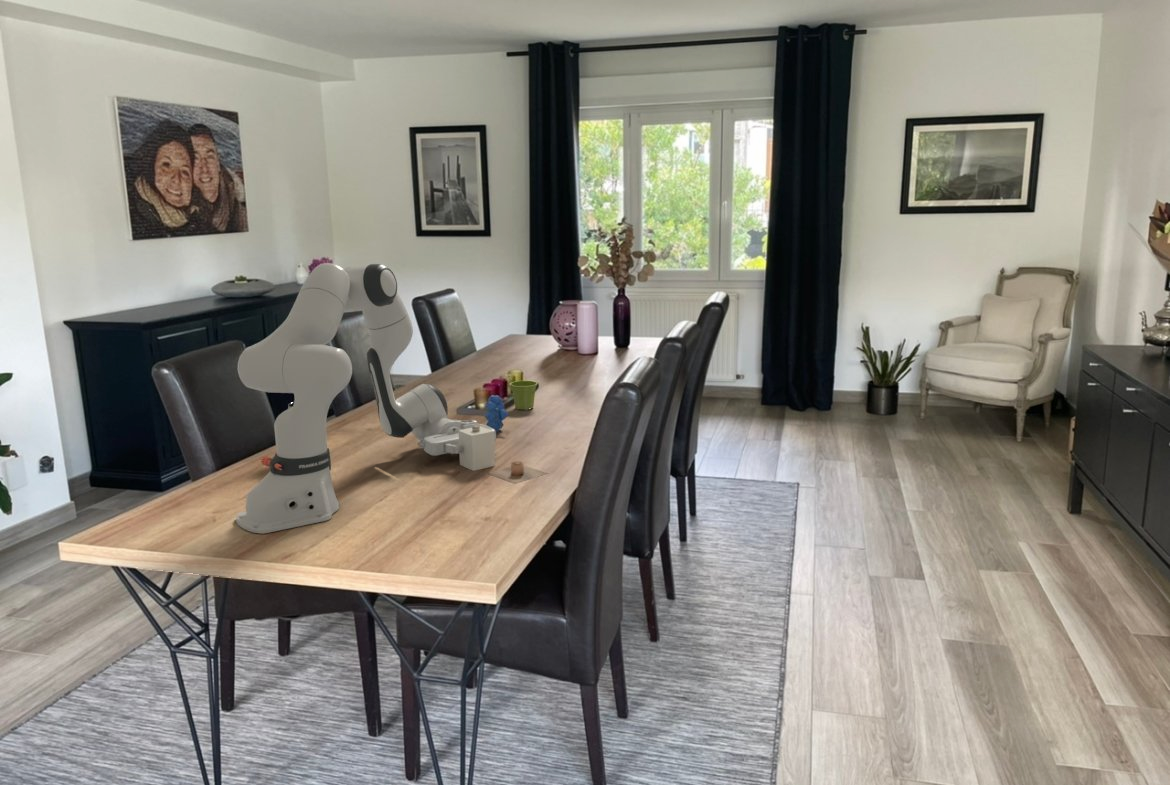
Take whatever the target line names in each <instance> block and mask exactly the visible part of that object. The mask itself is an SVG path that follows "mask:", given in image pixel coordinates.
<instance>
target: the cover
mask: <svg viewBox="0 0 1170 785" xmlns="http://www.w3.org/2000/svg"><path fill="white" fill-rule="evenodd" d="M458 433H459V446H461V447H462V453H458V454H459V465H460V466H462V467H464V468H466V469H468V470H470V471H473V472H474V471H477V470H483V469H487V468H491V467H495V466H496V457H495V456H496V455H495V454H496V452H495V450H496V449H495V443H494V431H492V430H490V429H487V428H484V427H482V426H478V425H474V426H472V428H468V429H463V430H458Z"/></svg>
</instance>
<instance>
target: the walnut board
mask: <svg viewBox="0 0 1170 785" xmlns="http://www.w3.org/2000/svg"><path fill="white" fill-rule="evenodd" d="M547 474H549V473H548V472H545V471H543V470H542V471H541V470H539V469H537V468H536V469H535V468H533V467H530V466H527V465H525V464H524V474H523V475H518V476H516V475H512V474H511V466H509V467H505V468H502V469H498V470H495V471H491V472H488V473H487V475H489V476H492V477H496V478H498V479H500V480H503V481H506V482H508V483H511V484H518V483H523V482H524V481H529V480H532V479H535V478H537V477H541V476H544V475H547Z"/></svg>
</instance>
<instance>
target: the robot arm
mask: <svg viewBox="0 0 1170 785" xmlns="http://www.w3.org/2000/svg"><path fill="white" fill-rule="evenodd" d="M353 312H362V314H363V318H364V320H365V323H366V326H367V329H368V331H369V336H370V345H369V349H368V351H367V352H366V362H367V366H368V371H369V372H368V373H369V376H370V380H371V384H372V389H373V392H374V396H375V397H374V398H375V401H376V406H377V411H378V412H377V413H378V420H379V423H380V426H381V428H382V429H383V431H384V432H385V433H386V435H387V436H389V437H393V438H401V439H404V438H406V436H407V435H408V434H410V433H412V434H413V436H414V437H415V438H417V439H418V440H419V441H418V442H417V446H419V447H420V448H423V450H424V452H425V453H427V454H428V455H430V456H433V457H434V456H440V455H444V454H445V455H446V454H451V453H452V454H456V455H457V454H459V453H462V447H461V446H459V433H458V430H463V429H468V428H472V426H474V425H478V426H482V427H484V428H487V429H490V430H492V431H494V444H495V443H496V440H497V432H495V430H494V429H493V428H491V427H488V426H487V425H485V424H482V423H478V421H477V420H475V419H471V420H470V419H466V420H463V419H462V420H459V419H450V418H447V417H448V412H449V410H448V403H447V400H446V398H445V396H444V394H443V392H442V391H441V390H439V388H438V387H435V386H434V385H432V384H430V383H425V382H423V383H422V384H419V385H418V386H416V387H414V388H412V389H411V390H409V391H408V392H406V393H405V394H403V395H401V396H399V397H397V398H395V394H394V390H393V385H392V381H391V376H390V374H391V370H392V367H393V365H394V364H395V362H396V361H397V359H398V358H399V357H400V356H401V355H402V354H403V353H404V351H405V350H406V349H407V348H408V346H409V345H410V343H411V340H412V339H413V334H414V328H413V323H412V320H411V317H410V315H409V313H408V311H407V308H406V306H405V304H404V302H403V300H402V298H401V296H400V294H399V293H398V282H397V279H396V276H395V274H394V273H393V271H392V270H391V269H390V268H389V267H387V266H386V265H385V264H380V263H370V264H368V265H360V266H353V267H345V268H343V267H342V266H339V265H338V264H336V263H330V262H325V263H320V264H318V265H317V266H316V267H314V268H313V269H312V270H311V272H310V273H309V274H308V276H307V277H306V279H305V281H304V282H303V284H302V286H301V288H300V289H299V292H298V293H297V296H296V299H295V301H294V303H293V305H292V308H291V309H290V311H289V314H288V316H287V317H286V319H285V320H283V322H282V323H281V324H280V325H279V326H278V327H277V328H276V329H275V330H274V331H273V332H272V333H270V334H269V335H268V336H267V337H265V338H264V339H261V341H259V342H257V343H254V344H252V345H251V346H247V347H246V348H245V349H244V350H243V351H242V352H241V354H240V355H239V358H238V361H237V373H238V376H239V379H240V381H241V383H242V384H243V385H244V386H245V387H246V388H248V389H252V390H256V391H260V392H265V393H281V394H286V393H287V394H293V395H294V400H293V402H294V405H293V407H291V408H289V409H288V408H287V409H286V410H284V411H282V412H281V413H279V414H278V416H277V417H276V419H275V421H274V424H273V428H274V437H275V439H274V440H275V449H276V453H275V454H274V456H273V458H272V457H269V456H266V455H265V456H262V457H261V458H262V459H260V462H261V464H262V465H263V466H266V467H269V470H270V471H269V472H268V473H266V475H265V476H264V477H263V478H262V479H260V480H259V482H258V483H257V484H256V485H255V486H254V487H253V488H251V489H250V490H249V491H248V492H247V496H246V501H245V502H246V503H245V511H241V512H239V513H237V514H236V517H235V520H236V521H235V522H236V524H237V525H238V526H239V527H240V528H242V529H243V530H245V531H248V532H251V533H254V534H261V535H262V534H268V533H273V532H279V531H283V530H287V529H293V528H297V527H302V526H306V525H311V524H315V523H321V522H327V521H328V520H330V519H332V517H333V514H334V513H336V512H337V511H338V510H339V508H340V503H339V501H338V499H337V496H336V493H335V488H334V485H333V480H332V475H331V471H332V464H331V463H332V460H331V452H330V448H328V440H327V438H328V436H327V418H328V417H327V416H328V413H329V409H330V406H331V404H332V402H333V400H334V399H335V398H336V397H337V396H338V394H339V393H341V392H342V391H344V390H345V388H346V387H347V386H348V385H349V383H350V381H351V378H352V376H353V364H352V360H351V359H350V358H351V357H350V356H349V355H348V353H347V352H346V351H345V350H344V349H343V348H338V347H335V346H330V345H327V344H329V343H330V342H331V341H332V340H334V337H336V335H337V331H338V330H339V326H340V324H341V321H342V319H343V315H344V313H353Z"/></svg>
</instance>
